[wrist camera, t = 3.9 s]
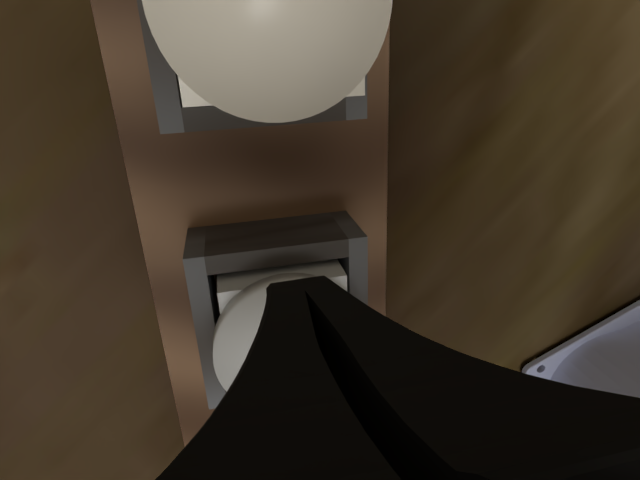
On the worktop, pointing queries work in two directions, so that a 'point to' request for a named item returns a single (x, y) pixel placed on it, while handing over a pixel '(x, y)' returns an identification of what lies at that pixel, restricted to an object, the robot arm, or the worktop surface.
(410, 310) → the worktop surface
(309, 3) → the knob
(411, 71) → the worktop surface
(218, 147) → the knob backing plate
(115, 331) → the worktop surface
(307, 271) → the knob
